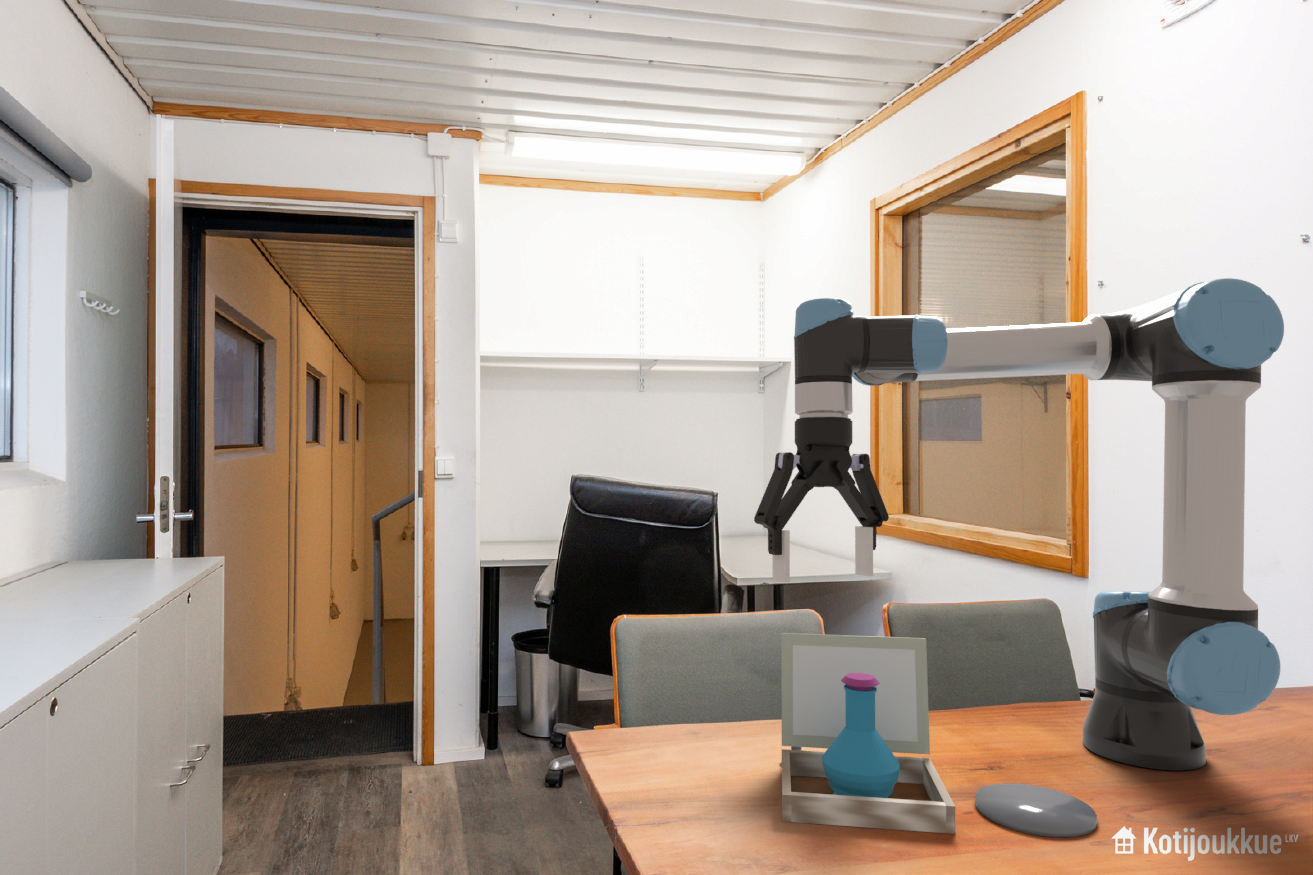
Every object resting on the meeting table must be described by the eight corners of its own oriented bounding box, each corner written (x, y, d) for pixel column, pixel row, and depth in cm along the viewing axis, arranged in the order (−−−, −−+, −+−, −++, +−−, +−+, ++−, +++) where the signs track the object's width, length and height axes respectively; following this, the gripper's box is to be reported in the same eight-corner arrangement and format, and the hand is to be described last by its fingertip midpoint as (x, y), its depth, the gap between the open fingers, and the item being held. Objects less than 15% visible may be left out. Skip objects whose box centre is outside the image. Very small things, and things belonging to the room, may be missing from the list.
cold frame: (929, 781, 102) (929, 758, 103) (955, 834, 88) (955, 806, 88) (781, 772, 105) (781, 749, 105) (782, 821, 91) (782, 794, 91)
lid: (930, 754, 102) (928, 753, 103) (926, 638, 105) (925, 638, 106) (781, 745, 105) (781, 744, 106) (781, 633, 108) (781, 632, 108)
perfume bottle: (903, 820, 91) (903, 688, 92) (822, 812, 93) (822, 684, 94) (896, 788, 100) (895, 669, 101) (821, 782, 102) (821, 665, 103)
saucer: (1072, 793, 99) (1072, 787, 99) (1116, 841, 86) (1116, 834, 86) (963, 786, 101) (963, 780, 101) (991, 832, 88) (991, 825, 88)
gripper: (876, 421, 114) (877, 569, 113) (728, 415, 103) (727, 579, 102) (914, 418, 107) (916, 576, 106) (760, 411, 96) (760, 587, 95)
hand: (823, 578), depth 104 cm, fingers open, 13 cm apart
